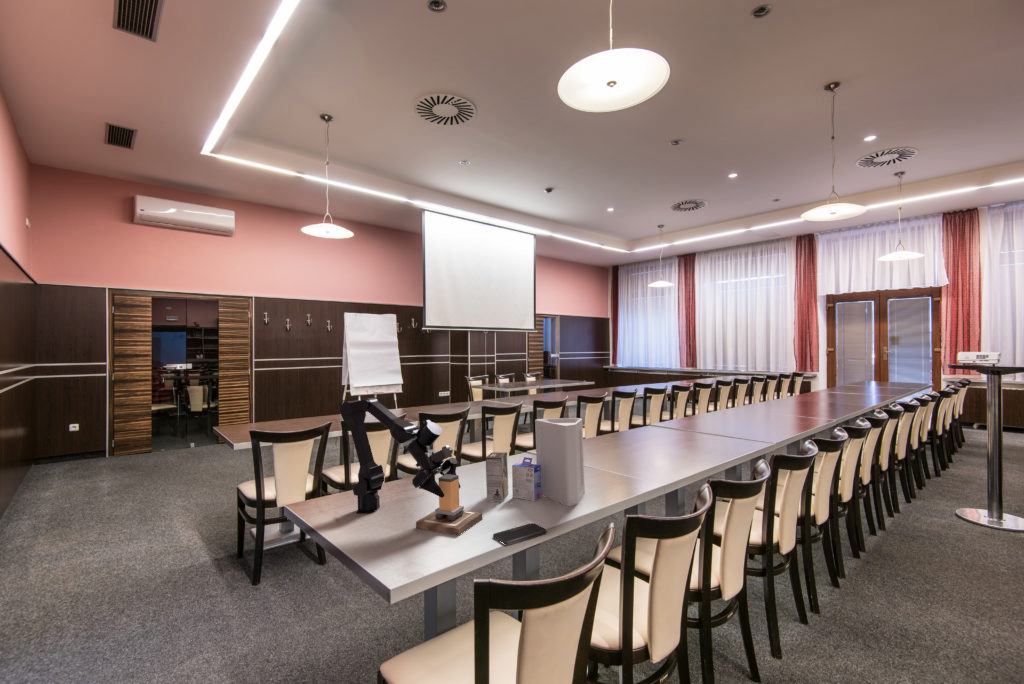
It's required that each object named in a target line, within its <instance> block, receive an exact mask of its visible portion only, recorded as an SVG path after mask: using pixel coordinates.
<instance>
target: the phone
mask: <svg viewBox="0 0 1024 684" xmlns="http://www.w3.org/2000/svg"><path fill="white" fill-rule="evenodd" d="M547 533H548V532H547V529H546V528H544V527H542V526H540V525H539V524H537V523H533V522H531V523H528V524H523V525H521V526H515V527H512V528H508V529H505V530H502V531H498V532H495V533H493V534H492V538H493V537H494V538H496V539H498V540H499V541H501V542H503V543H504V544H506V545H505V546H510V545H514V544H516V543H521V542H524V541H527V540H529V539H533V538H536V537H540V536H543V535H546V534H547ZM494 538H493V539H494ZM496 539H495V540H496ZM499 541H498V542H499Z"/></svg>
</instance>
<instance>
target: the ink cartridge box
mask: <svg viewBox="0 0 1024 684" xmlns="http://www.w3.org/2000/svg"><path fill="white" fill-rule="evenodd" d="M526 460H528V461H526ZM532 462H533V458H532V457H525V456H523V460H522V462H517V463H515V464H512V465H511V471H512V472H511V475H512V476H511V477H512V478H511V479H512V480H511V481H512V484H511V485H512V486H511V487H512V489H511V490H512V498H513V497H514V498H513V499H520V500H521V499H522V500H526V501H533V502H535V501H537V500H539V499H541V498H542V495H541V465H537V463H536V464H535V463H532Z"/></svg>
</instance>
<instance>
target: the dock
mask: <svg viewBox="0 0 1024 684" xmlns="http://www.w3.org/2000/svg"><path fill="white" fill-rule="evenodd" d="M463 511H464V513H463V515H461V516H460V517H458V518H456V519H455V520H453V521H452V522H449V521H448V519H447V517H448V516H449V515H446V516H445V517H443V518H441V519H440V520H437V519H436V518H435V515H436V514H437V513H435V510H434V511H432V512H431V513H429V514H427V515H425V516H423V517H422V518H420V519H418V520H416V521H415V529H419V528H420V530H424V529H425V531H430V530H431V531H432V532H436V531H437V532H436V533H441V532H442V534H447V533H448V534H449V535H453V534H456V535H455V536H458V535H459V536H461V535H462V534H464V533H465V532H466V530H467V529H468V530H469V529H471V528H473V525H474V526H475V525H476V523H477V524H478V523H479V522H481V521H482V520H483V513H482V512H477V511H470V510H465V509H464V510H463ZM470 527H471V528H470ZM468 530H467V531H468ZM464 531H465V532H464ZM463 532H464V533H463ZM461 533H462V534H461ZM460 534H461V535H460Z"/></svg>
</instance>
